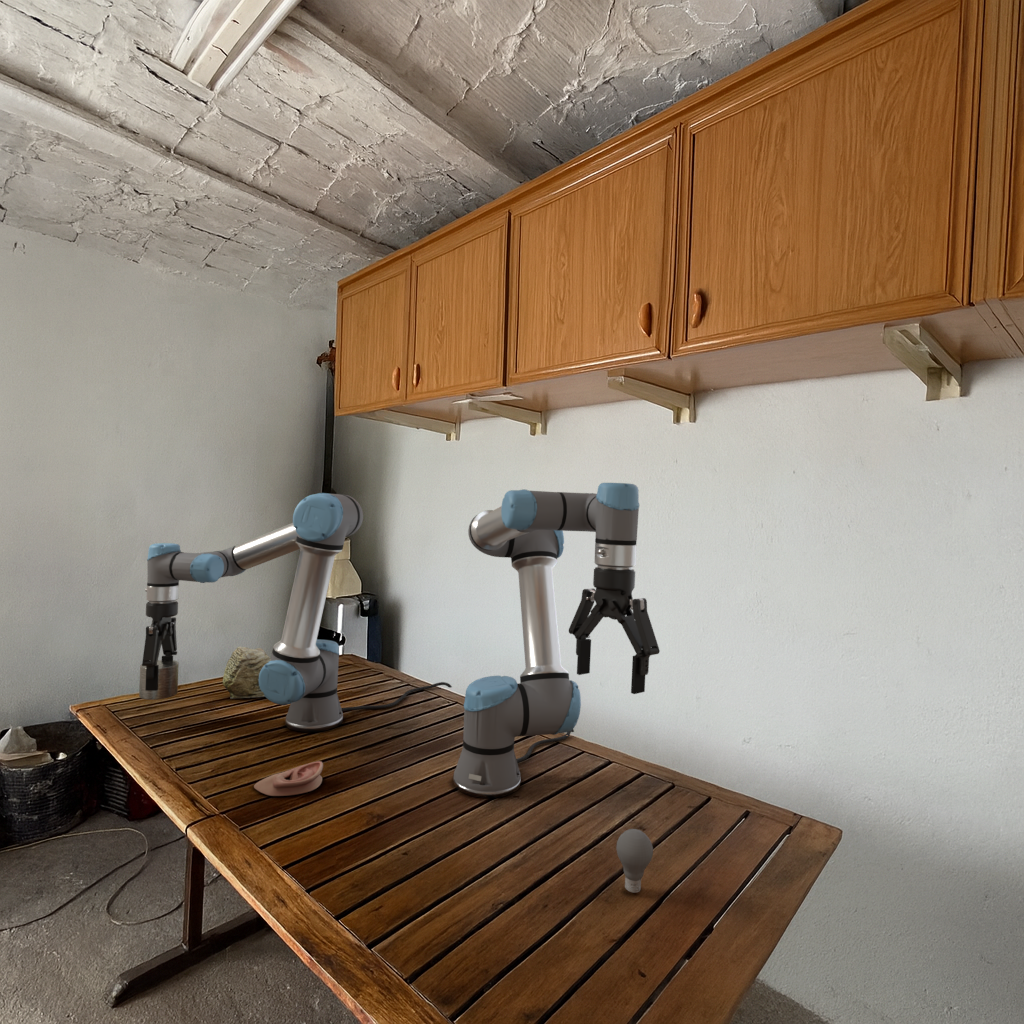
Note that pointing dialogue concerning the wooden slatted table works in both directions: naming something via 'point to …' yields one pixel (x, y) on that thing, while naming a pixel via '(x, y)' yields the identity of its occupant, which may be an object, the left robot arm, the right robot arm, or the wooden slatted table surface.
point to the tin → (161, 681)
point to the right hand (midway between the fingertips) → (609, 682)
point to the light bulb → (634, 857)
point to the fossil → (245, 672)
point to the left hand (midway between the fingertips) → (159, 684)
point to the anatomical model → (292, 781)
